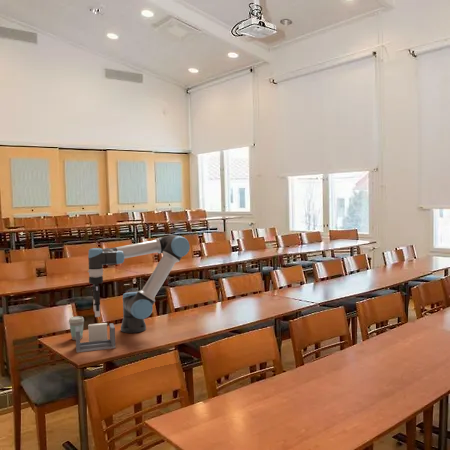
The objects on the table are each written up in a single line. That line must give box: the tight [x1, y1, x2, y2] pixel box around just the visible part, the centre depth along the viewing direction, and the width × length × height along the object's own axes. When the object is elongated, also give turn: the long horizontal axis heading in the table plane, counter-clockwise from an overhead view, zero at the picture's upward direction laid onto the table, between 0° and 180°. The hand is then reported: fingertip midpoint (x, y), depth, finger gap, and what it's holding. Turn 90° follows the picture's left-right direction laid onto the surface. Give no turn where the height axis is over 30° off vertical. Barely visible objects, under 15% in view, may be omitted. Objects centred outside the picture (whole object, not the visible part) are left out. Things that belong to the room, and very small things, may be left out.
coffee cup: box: [68, 315, 85, 341], centre depth 277 cm, size 9×8×12 cm
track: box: [75, 323, 116, 353], centre depth 260 cm, size 20×10×11 cm, turn 109°
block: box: [87, 322, 109, 342], centre depth 270 cm, size 10×3×10 cm, turn 109°
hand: (96, 313), depth 269 cm, fingers open, 13 cm apart
